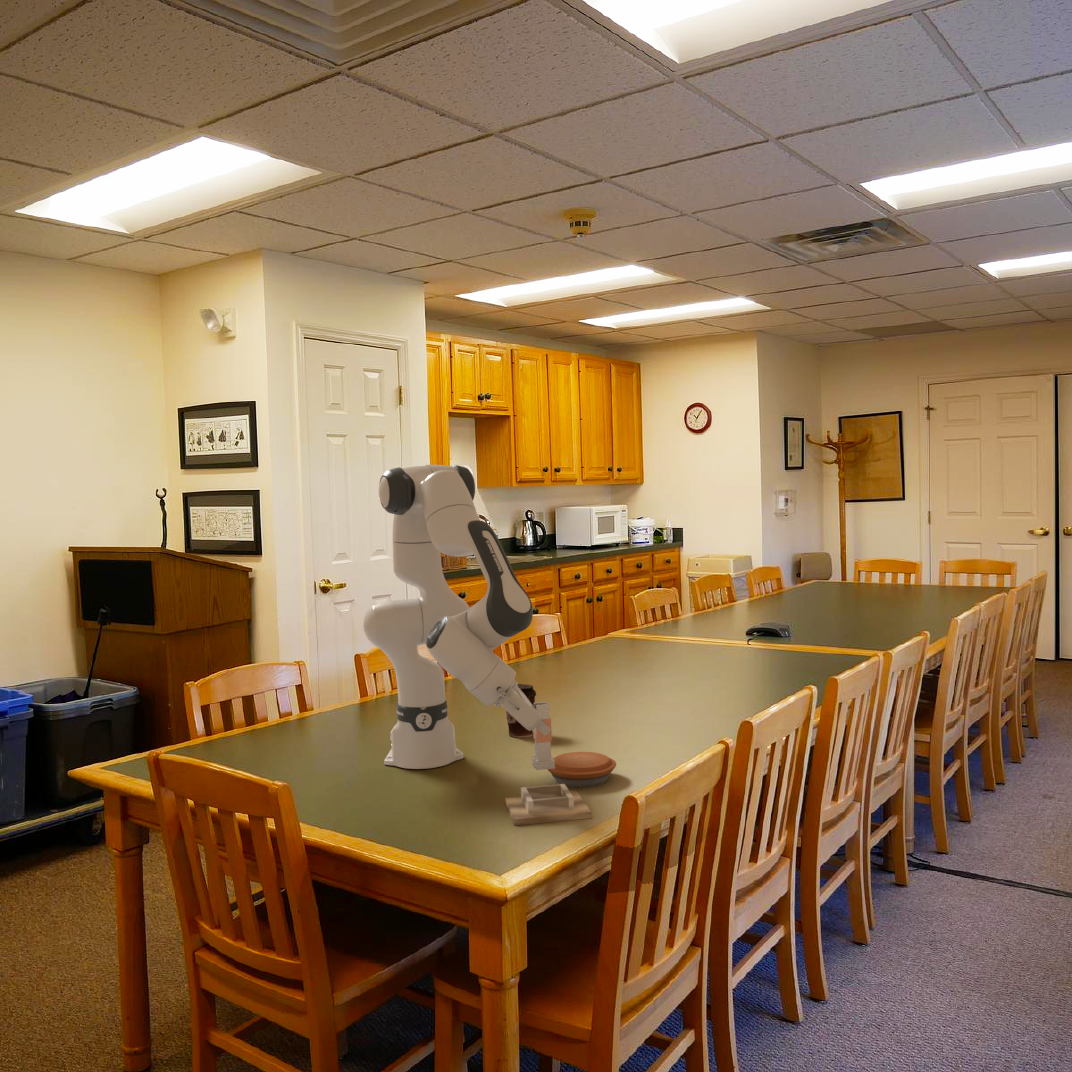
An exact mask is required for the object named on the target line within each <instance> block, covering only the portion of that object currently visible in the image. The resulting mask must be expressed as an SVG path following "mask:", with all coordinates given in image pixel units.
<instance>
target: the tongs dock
mask: <svg viewBox="0 0 1072 1072" xmlns="http://www.w3.org/2000/svg"><path fill="white" fill-rule="evenodd" d="M504 799H505V802H504V803H505V806H506V809H507V810H508V813H509V814H510V817H511V820H512V822H513V824H514V826H521V825H522V826H525V825H533V824H544V823H555V822H564V821H565V822H566V821H574V820H585V819H592V811H591V809H590V808H589V806H588V805H587V804H586V802H585V800H584V799H583V798H582V796H581V794H579V792H578V791H570V790H569V788H568V786H566V785H565V784H559V783H556V784H545V785H535V786H534V785H533V786H523V787H522V786H521V787H520V796H511V797H505V798H504Z"/></svg>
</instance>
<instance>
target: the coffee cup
mask: <svg viewBox="0 0 1072 1072" xmlns="http://www.w3.org/2000/svg"><path fill="white" fill-rule="evenodd" d="M518 687H519V688H520V689H521V691H522V692H523V693H524V694H525V696H526V697H527V699H528V700H529V701H530V702H531V704H532V705H533V706H534V702H536V696H537V691H536V690H535V689H534V686H533V685H530V684H524V683H518ZM505 714H506V722H507V726H508V735H509V736H510V737H513V738H522V739H523V738H530V737H532V736H534V734H533V729H532V730H531V731H529V730H527V729H526V728H525V727H524V726H522V725H521V724H520V723H519V722H518V721H517V720H516V719H515V718H514V717H513V716H512V715H510V714H509V713H508V712H507V711H506V710H505Z"/></svg>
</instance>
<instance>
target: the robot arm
mask: <svg viewBox="0 0 1072 1072" xmlns="http://www.w3.org/2000/svg"><path fill="white" fill-rule="evenodd" d="M475 495H476V483H475V479H474V476H473V474H472V472H471V470H469V468H467V467H465V466H464V465H463V466H462V465H456V464H452V465H444V464H425V465H419V466H418V465H416V466H408V467H403V468H402V467H400V466H399V467H395V468H391V469H388V470H386V471H384V472H383V474H382V475H381V477H380V479H379V483H378V497H379V502H380V504H381V506H382V508H383V509H384V510H385V511H386V512H387V513H388V514H390V515H392V514H393V518H392V520H393V521H392V558H393V559H392V564H393V573H394V574H395V576H396V577H397V579H399V580H400V581H401V582H403V583H406V584H408V585H409V586H413V587H415V588H417V589H418V590H419V597H417V598H407V599H393V600H386V601H383V602H379V603H376V604H373V605H370V607H369V608H368V609H367V611H366V613H365V615H364V617H363V624H362V625H363V626H362V627H363V632H364V635H365V636H366V638H367V640H369V642H370V643H371V644H372V645H374V646H375V647H377V648H378V649H380V651H382V652H383V653H384V654H385V655H386V657H387V658H388V659H389V661H390V662H391V664H392V667H393V670H394V672H395V678H396V687H397V699H398V701H397V704H396V710H395V711H396V719H397V722H396V724H395V725H394V726H393V728H392V729H391V731H390V734H389V738H390V741H391V744H390V750H389V752H388V754H387V755H386V756H385V758H384V761H383V762H384V763H383V764H384V765H386V766H394V767H397V768H398V767H399V768H403V769H407V770H408V769H412V770H420V769H421V770H423V769H433V768H438V767H442V766H443V767H444V766H447V765H449V764H451V763H453V762H455V761H458V760H462V759H464V753H463V752H462V751H461V750H460V749H458V747H457V745H456V731H455V725H454V724H453V722H452V721H450V720H449V718H448V714H449V713H448V710H449V708H448V701H447V700H446V696H445V695H446V694H445V693H446V691H445V688H446V687H445V686H446V685H445V672H444V670H445V671H446V672H447V673H448V674H450V676H452V677H453V678H455V679H457V680H458V681H460V682H461V683H462V684H463V685H464V687H465V689H466V690H467V691H468V692H470V693H471V694H472V695H473V696H474V697H475V698H476V699H477V700H479V701H480V702H481V703H482V704H483V705H484V706H485V707H489V706H491V705H494V706H495V707H496V708H498V707H500V706H502V708H503V709H504V710H505V712H506V711H507V712H508V713H509V714H510V715H512V716H513V717H514V718H515V719H516V720H517V721H518V722H519V723H520V724H521V725H522V726H524V727H525V728H526V729H527V730H529V731H531V730H532V729H533V728H535V729H537V730H538V731H540V732H541V733H542V734H543V735H547V734H548V733H549V732H550V730H551V731H552V728H551V729H550V728H549V726H547V725H546V724H545V723H544V722H543V721H542V720H541V719H542V717H541V715H540V714H539V713H538V712H537V710H536V709H535V708H534V706H533V705H532V704H531V702H530V701H529V700H528V699H527V697H526V696H525V694H524V693H523V692H522V691H521V689H520V688H519V687H518V684H519V682H518V681H517V680H516V679H515V678H516V676H517V672H516V670H514V669H513V668H512V667H511V666H510V665H509V664H508V663H507V662H505V661H504V660H503V659H502V658H501V657H500V656H499V655H498V654H496V653H494V652H495V651H494V650H495V649H496V648H497V647H500V646H501V645H502V644H504V643H505V642H507V641H508V640H510V639H511V638H512V637H515V636H516V635H518V634H519V633H522V632H523V631H525V630H526V629H528V628H529V626H531V623H532V621H533V616H534V614H533V613H534V609H533V604H532V600H531V598H530V596H529V595H528V593H527V591H526V590H525V589H524V588H523V586H522V584H521V583H520V581H519V580H518V578H517V575H516V573H515V572H514V569H513V567H512V565H511V563H510V561H509V558H508V556H507V554H506V552H505V550H504V548H503V546H502V543H501V542H500V539H499V538H498V536H497V534H496V532H495V530H494V529H493V528H492V527H491V526H490V525H489V523H487V522H485V521H483V520H481V519H480V517H479V515H478V513H477V509H476V506H475V504H474V499H475ZM441 553H442V554H443V555H446V556H448V557H458V558H459V557H469V556H474V557H475V560H476V561H477V563H478V565H479V568H480V570H481V572H482V575H483V577H484V578H485V581H486V584H487V588H486V589H487V590H486V592H485V595H483V597H482V598H481V599H480V600H478V601H476V603H475V604H473V605H471V606H469V604H468V602H466V601H465V600H464V599H463V598H461V597H460V596H458V595H457V594H456V592H454V591H453V590H452V589H451V587H450V586H449V584H448V583H447V580H446V578H445V575H444V572H443V566H442V557H441ZM421 645H425V646H426V649H427V650H428V653H429V654H430V655H431V657H432V658H433V659H434V660H435V661H434V660H433V659H429V658H427V657H425V656H422V655H420V654H419V652H418V646H421ZM532 731H533V730H532Z"/></svg>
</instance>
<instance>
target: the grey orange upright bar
mask: <svg viewBox="0 0 1072 1072" xmlns="http://www.w3.org/2000/svg"><path fill="white" fill-rule="evenodd" d="M534 708H535V709H536V710H537V712H538V713H539V714H540V715H541V717H542V719H541V720H542V721H543V722H544V723H545V724H546V725H547V726H549V728H550V729H551V730H550V732H549V733H548V734H547V735H543V734H542V733H541V732H540V731H538V730H537V729H535V728H533V730H532V731H533V740H534V748H535V749H534V750H535V751H534V753H535V754H534V756H533V755H532V756H531V762H532V763H531V764H532V766H533V768H534V769H535V771H539V770H540V771H543V770H547V769H555V761H554V759H553V758H554V757H553V756H552V748H551V747H552V746H551V744H552V743H551V742H553V741H552V740H553V738H552V737H553V736H552V735H553V733H552V718H551V716H550V715H551V714H550V712H551V710H550V704H548V702H547V701H538V702H537V701H535V702H534Z"/></svg>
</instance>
